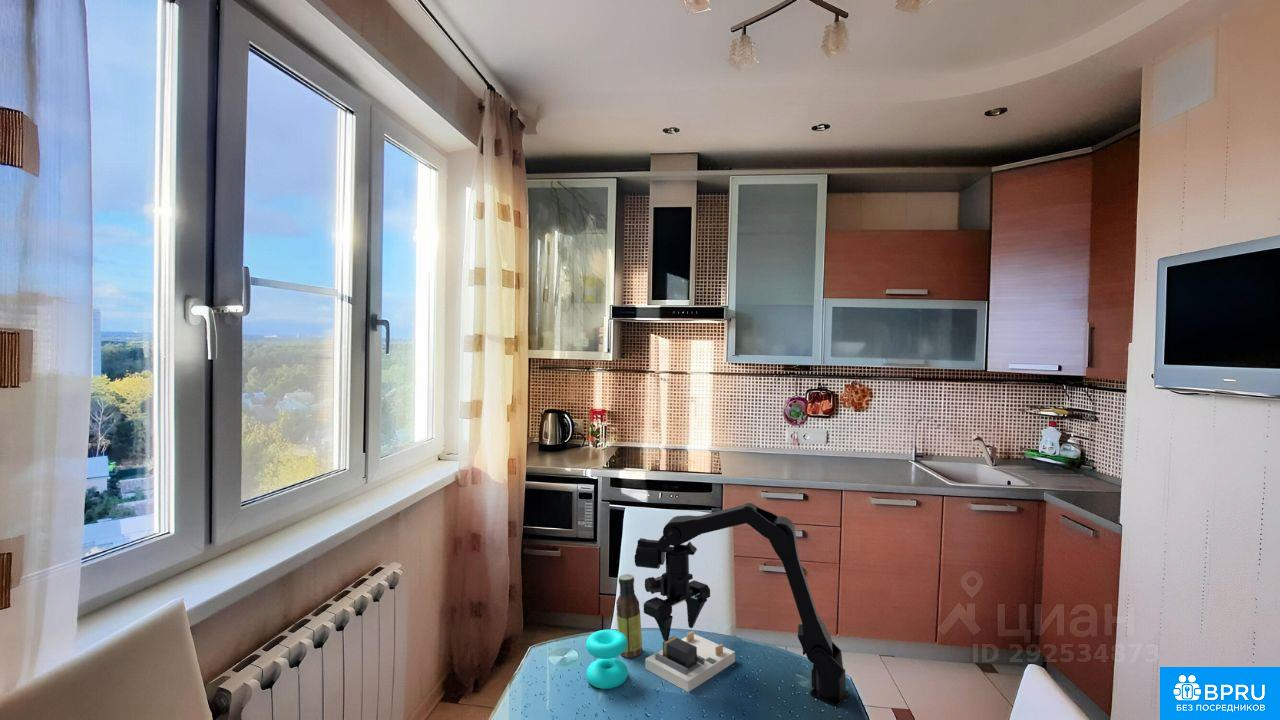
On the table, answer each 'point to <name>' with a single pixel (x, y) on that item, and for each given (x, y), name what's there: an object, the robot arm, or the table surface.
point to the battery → (680, 652)
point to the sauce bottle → (629, 616)
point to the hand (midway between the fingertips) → (678, 634)
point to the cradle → (708, 665)
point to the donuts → (606, 659)
